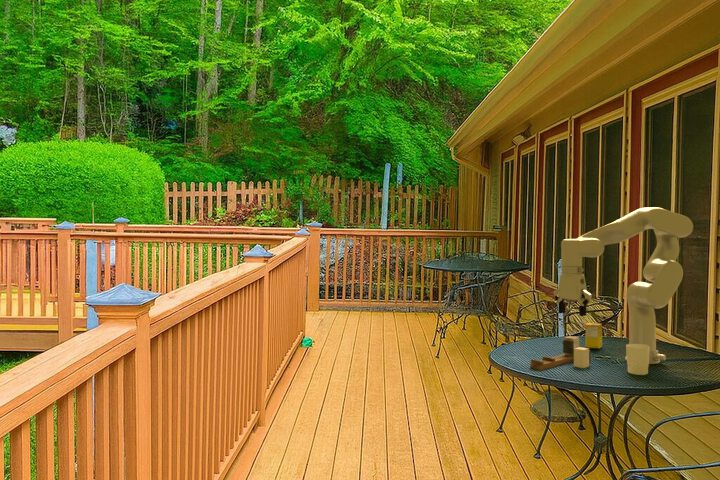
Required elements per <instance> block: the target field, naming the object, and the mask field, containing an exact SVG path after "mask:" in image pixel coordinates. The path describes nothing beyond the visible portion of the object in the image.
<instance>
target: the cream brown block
mask: <svg viewBox="0 0 720 480" xmlns="http://www.w3.org/2000/svg"><path fill="white" fill-rule="evenodd" d="M591 351H592V350H590V349H589V348H586V347H583V346H582V347H581V346H579V347H578V348H574V362H573V368H574V367H575V368H580V369H586V368H589V367H590V364H592V362H591V361H592V360H591V359H592V354H591V353H592V352H591Z"/></svg>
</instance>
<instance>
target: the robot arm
mask: <svg viewBox="0 0 720 480" xmlns="http://www.w3.org/2000/svg"><path fill="white" fill-rule="evenodd" d="M646 230H653V232H654V234H655V238H656V247H655V248H654V251H653V253H652V254H651V255H650V257H649V259H648V260H647V262H646V264H645V266H644V268H643V270H642V275H643V277H644V279H646V281H647V282H645V281H635V282H633V283H631V284H630V285H628V287H627V289H626V300H627V305H628V312H629V313H628V315H629V316H628V319H629V320H628V327H629V330H628V337H629V339H628V340H629V342H628V344H643V345H648V346H649V347H650V350H649V365H655V364H657V365H658V364H659V363H661V361H666V359H667V357H666V354H660V353H659V350H657V346H656V345H657V340H656V338H657V337H656V335H657V333H656V332H657V331H656V329H657V328H656V325H657V324H656V323H657V321H656V320H657V319H656V312H655V309H656V310H657V309H662V308H664V307H665V306H667V305H668V303H669V302H670V301H671V300H672V298H673V296H674V295H675V293H676V291H677V289H678V287H679V286H680V284H681V282H682V281H683V277H684V270H683V267H682V265H681V264H680V262H678V261H677V259H678V257H679V255H680V244H679V240H678V238H679V239H680V238H682V239H683V238H687V237H688V236H690V235H691V234H692V232H693V230H694V224H693V222H692V220H691V219H690V217H688V216H686V215H683V214H680V213H677V212H674V211H672V210H668V209H664V208H662V207H656V206H655V207H654V206H653V207H640V208H638V209H636V210H634V211H632V212H629V214H627V215H624V216H623V217H621V218H619V219H616V220H615V221H613V222H611V223H608V224H606V225H602V226H601V227H597V228H596V229H595V228H594V229H592V230H591V231H587V232H585V233H584V234H582V235H580V236H578V237H577V238H565V239H562V241H560V242H561V243H560V247H561V249H560V251H561V253H560V254H561V255H560V257H561V273H560V275H559V282H558V288H557V289H555V290H553V291H552V293H553V296H554V299H555V300H556V303H557V304H558V313H559V314H564V313H566V302H565V301H566V300H567V301H568V300H569V301H570V300H571V301H577V302H578V303H579V304H580V305H579V308H578V311H579V312H578V314H579V317H586V316H587V306H588V304H589V303H590V302H591V299H592V297H593V294H591V293H590V292H588V291H587V283H586V277H585V274H584V273H583V272H585V269H584V268H583V263H582V262H583V260H582V259H583V258H584V257H585V258H598V257H600V256H601V255H602V254H603V253H604V252H605V246H607V245H613V244H619V243H622V242H626V241H627V240H630V238H631V239H632V238H633V237H635V236H637V235H638V234H641V233H642V232H644V231H646ZM624 359H625V361H626V362H627V356H626V355H625V356H624Z"/></svg>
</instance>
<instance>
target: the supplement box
mask: <svg viewBox="0 0 720 480" xmlns="http://www.w3.org/2000/svg"><path fill="white" fill-rule="evenodd" d="M602 324H603V323H597V322H596V323H595V322H587V323H585V325H584V327H585V328H584V329H585V331H584V332H585V348H589V350H594V351H595V350H597V351H600V350H601V349H602V348H603V325H602Z"/></svg>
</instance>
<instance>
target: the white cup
mask: <svg viewBox="0 0 720 480" xmlns="http://www.w3.org/2000/svg"><path fill="white" fill-rule="evenodd" d="M625 350H626V351H625V353H626V355H625V357H626V356H627V361H626V365H627V373H629V374H630V375H636V376H638V375H639V376H645V375H649V374H648V373H649V365H650V364H649V350H650V347H649V346H648V345H643V344H629V343H627V344H626V345H625Z"/></svg>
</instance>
